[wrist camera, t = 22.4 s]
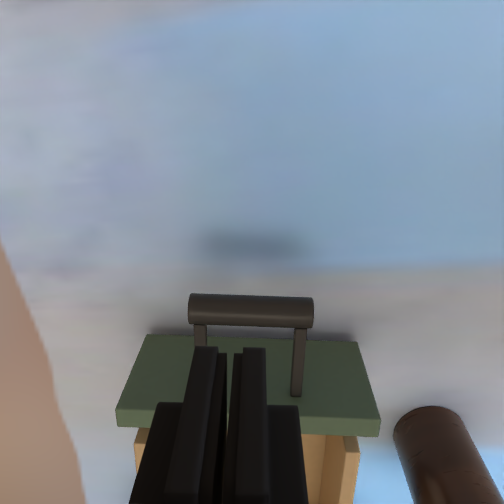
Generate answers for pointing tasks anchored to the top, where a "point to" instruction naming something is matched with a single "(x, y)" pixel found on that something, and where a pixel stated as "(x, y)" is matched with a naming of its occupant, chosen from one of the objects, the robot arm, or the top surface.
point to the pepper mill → (442, 459)
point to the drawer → (268, 383)
